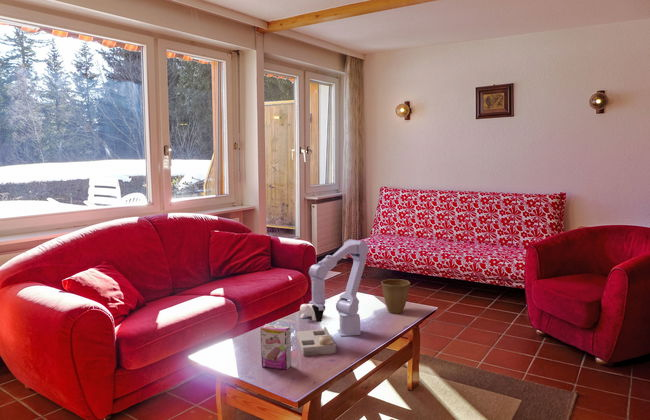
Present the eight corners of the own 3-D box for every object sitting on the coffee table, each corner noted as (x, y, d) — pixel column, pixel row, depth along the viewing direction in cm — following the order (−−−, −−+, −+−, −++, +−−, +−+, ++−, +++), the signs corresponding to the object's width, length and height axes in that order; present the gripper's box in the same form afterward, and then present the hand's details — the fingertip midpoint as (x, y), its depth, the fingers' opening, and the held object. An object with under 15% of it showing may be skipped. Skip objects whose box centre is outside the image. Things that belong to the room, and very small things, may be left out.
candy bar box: (261, 367, 203) (259, 327, 201) (266, 362, 208) (265, 323, 206) (287, 370, 200) (285, 330, 198) (291, 365, 204) (290, 326, 202)
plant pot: (412, 315, 262) (412, 285, 260) (383, 316, 262) (382, 286, 260) (407, 307, 277) (407, 278, 275) (380, 307, 277) (380, 278, 275)
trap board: (325, 333, 240) (325, 326, 239) (336, 352, 216) (336, 345, 216) (296, 335, 237) (296, 328, 237) (303, 355, 214) (303, 347, 213)
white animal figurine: (307, 319, 269) (293, 317, 256) (310, 303, 271) (296, 300, 258) (321, 321, 265) (308, 319, 252) (324, 305, 267) (311, 302, 254)
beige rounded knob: (331, 343, 222) (331, 335, 221) (332, 348, 216) (332, 340, 216) (319, 343, 221) (319, 336, 221) (319, 348, 216) (319, 340, 216)
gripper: (306, 287, 232) (307, 316, 233) (311, 296, 217) (312, 327, 219) (322, 286, 233) (322, 315, 234) (328, 295, 219) (328, 326, 220)
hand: (318, 321), depth 227 cm, fingers closed
